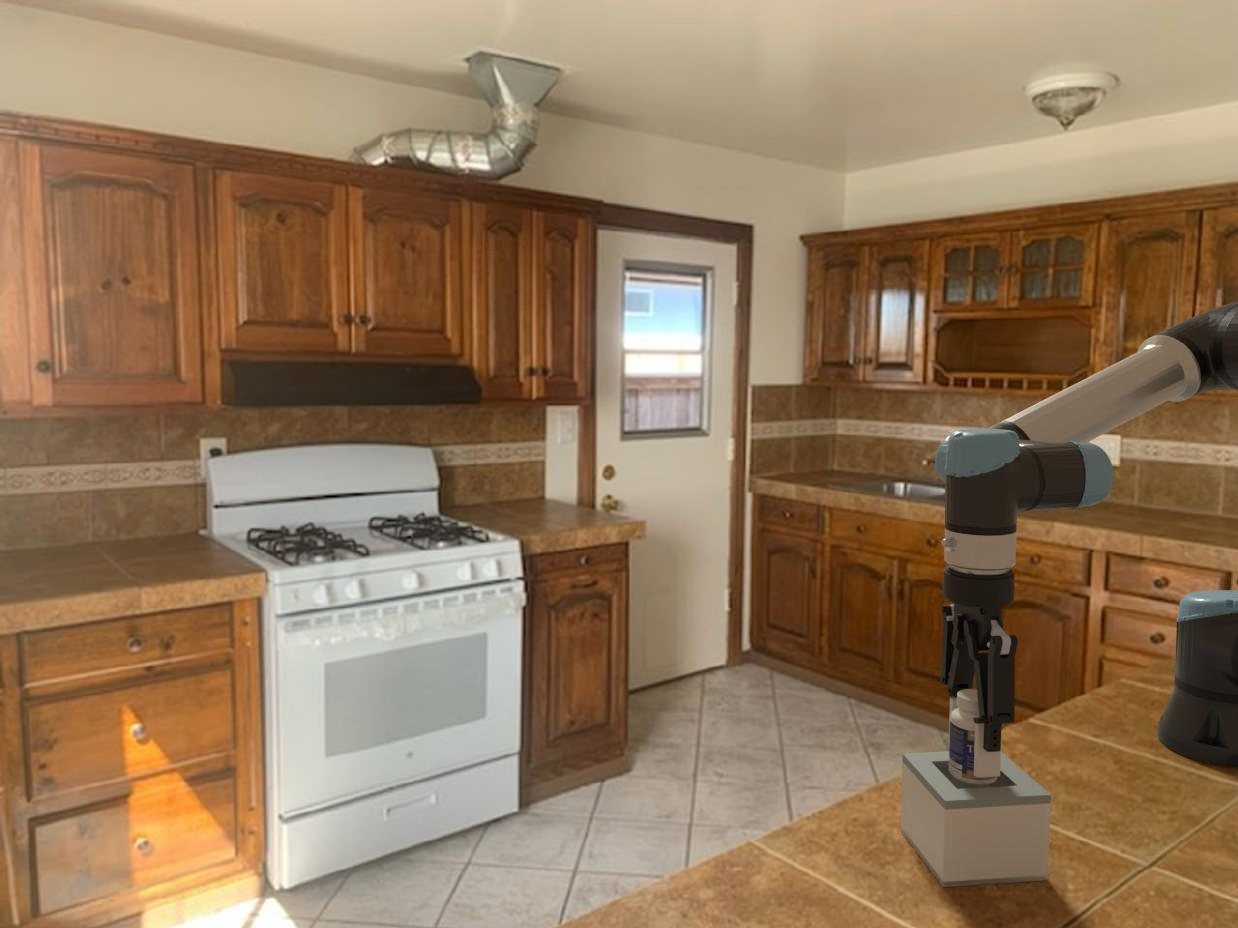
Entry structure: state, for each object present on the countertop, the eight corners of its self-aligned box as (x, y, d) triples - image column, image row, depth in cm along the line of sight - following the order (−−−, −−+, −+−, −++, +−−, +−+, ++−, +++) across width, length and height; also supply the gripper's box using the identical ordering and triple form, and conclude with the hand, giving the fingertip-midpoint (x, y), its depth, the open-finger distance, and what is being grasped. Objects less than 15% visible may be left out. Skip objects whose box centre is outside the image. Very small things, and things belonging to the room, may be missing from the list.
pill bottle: (967, 789, 103) (970, 706, 102) (939, 768, 108) (941, 689, 107) (1008, 782, 105) (1011, 700, 103) (978, 762, 110) (980, 684, 109)
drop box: (995, 825, 114) (997, 748, 113) (1047, 879, 102) (1050, 794, 101) (901, 831, 113) (902, 753, 112) (943, 886, 101) (945, 800, 100)
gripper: (913, 550, 113) (909, 731, 115) (986, 588, 94) (980, 803, 97) (972, 548, 113) (967, 728, 116) (1056, 586, 95) (1048, 799, 97)
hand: (973, 762), depth 106 cm, fingers open, 6 cm apart
